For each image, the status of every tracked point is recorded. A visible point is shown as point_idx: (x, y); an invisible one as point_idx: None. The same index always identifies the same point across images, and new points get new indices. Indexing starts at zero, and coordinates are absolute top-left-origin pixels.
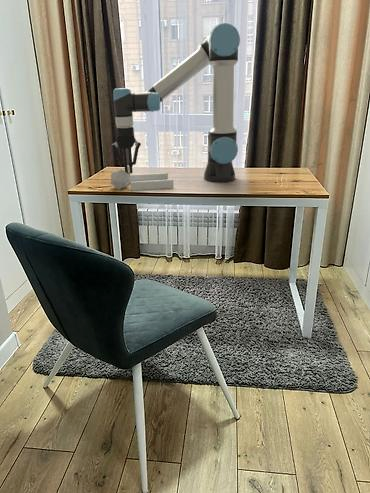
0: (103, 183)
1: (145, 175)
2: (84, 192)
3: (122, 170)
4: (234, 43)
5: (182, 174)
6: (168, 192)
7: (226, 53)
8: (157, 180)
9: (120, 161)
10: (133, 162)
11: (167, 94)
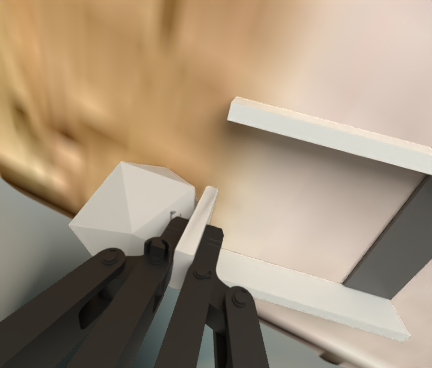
0: (81, 41)
1: (365, 154)
2: (13, 183)
3: (139, 252)
4: None
5: None
6: (312, 332)
7: None
8: (324, 313)
9: (82, 316)
10: (215, 336)
11: None
